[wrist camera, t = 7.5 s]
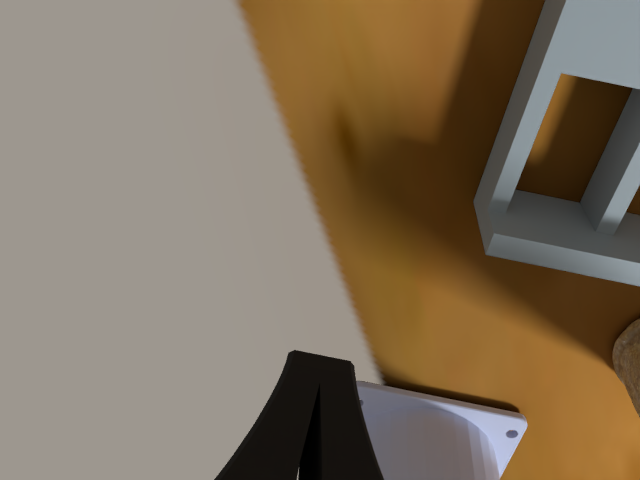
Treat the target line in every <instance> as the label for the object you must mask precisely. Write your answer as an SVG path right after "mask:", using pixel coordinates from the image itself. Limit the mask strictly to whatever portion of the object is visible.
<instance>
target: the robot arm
mask: <svg viewBox="0 0 640 480" xmlns="http://www.w3.org/2000/svg"><path fill="white" fill-rule="evenodd" d="M354 371H355V370H354V365H353V364H352V363H351V361H347V360H342V359H337V358H332V357H327V356H322V355H317V354H312V353H306V352H302V351H296V350H294V351H292V352H290V353H289V354H288V356H287V360H286V364H285V366H284V369H283V371H282V374H281V376H280V378H279V381H278V383H277V385H276V387H275V389H274V390H273V393H272V395H271V396H270V398H269V400H268V402H267V403H266V405H265V407H264V408H263V410H262V412H261V413H260V415H259V417H258V419H257V420H256V422H255V424H254V425H253V427H252V428H251V430H250V431H249V433H248V434H247V436H246V437H245V439H244V440H243V441H242V443H241V444H240V446H239V447H238V449H237V450H236V452H235V453H234V455H233V456H232V457H231V459H230V460H229V461H228V463H227V464H226V465H225V467H224V468H223V469H222V471H221V472H220V473H219V475H218V476H217V477H216V478H215V479H214V480H297V474H298V469H299V478H298V479H299V480H500V477H501V475H502V473H503V471H504V470H505V468H506V466H507V464H508V462H509V460H510V458H511V457H512V455H513V453H514V451H515V449H516V447H517V445H518V443H519V442H520V440H521V438H522V436H523V434H524V432H525V430H526V428H527V421H526V418H525V416H524V415H523V414H520V413H517V412H512V411H507V410H502V409H497V408H492V407H487V406H482V405H477V404H472V403H467V402H462V401H458V400H453V399H448V398H443V397H438V396H433V395H428V394H423V393H418V392H413V391H408V390H403V389H398V388H394V387H389V386H384V385H379V384H373V383H368V382H364V381H356V378H355V372H354ZM360 399H361V400H360ZM509 430H513V431H509Z"/></svg>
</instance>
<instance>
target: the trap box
mask: <svg viewBox="0 0 640 480" xmlns="http://www.w3.org/2000/svg"><path fill="white" fill-rule="evenodd" d="M561 73H564V74H569V75H573V76H578V77H583V78H588V79H593V80H597V81H602V82H607V83H612V84H617V85H621V86H626V87H631V88H633V90H632V92H631V94H630V96H629V98H628V100H627V102H626V105H625V107H624V109H623V111H622V113H621V115H620V117H619V120H618V122H617V124H616V126H615V128H614V130H613V132H612V135H611V137H610V139H609V141H608V143H607V145H606V147H605V150H604V152H603V154H602V156H601V158H600V160H599V162H598V165H597V167H596V169H595V171H594V173H593V175H592V177H591V180H590V182H589V184H588V186H587V188H586V190H585V192H584V195H583V197H582V199H581V201H580V203H579V202H574V201H569V200H564V199H560V198H555V197H550V196H545V195H540V194H535V193H531V192H526V191H521V190H516V189H515V188H516V186H517V183H518V181H519V178H520V176H521V173H522V171H523V168H524V166H525V163H526V160H527V158H528V155H529V153H530V150H531V148H532V145H533V143H534V140H535V138H536V135H537V133H538V130H539V128H540V125H541V123H542V120H543V117H544V115H545V112H546V110H547V107H548V105H549V102H550V100H551V97H552V95H553V92H554V90H555V87H556V85H557V82H558V80H559V77H560V75H561ZM639 185H640V0H545V3H544V5H543V8H542V11H541V14H540V17H539V19H538V22H537V25H536V28H535V31H534V33H533V36H532V39H531V42H530V45H529V47H528V50H527V53H526V56H525V58H524V61H523V64H522V67H521V70H520V72H519V75H518V78H517V81H516V84H515V86H514V89H513V92H512V95H511V98H510V100H509V103H508V106H507V109H506V112H505V114H504V117H503V120H502V123H501V125H500V128H499V131H498V134H497V137H496V139H495V142H494V145H493V148H492V151H491V153H490V156H489V159H488V162H487V165H486V167H485V170H484V173H483V176H482V179H481V181H480V184H479V187H478V190H477V193H476V195H475V198H474V201H473V203H474V207H475V211H476V216H477V220H478V224H479V228H480V233H481V237H482V241H483V246H484V250H485V254H486V255H489V256H494V257H499V258H504V259H509V260H514V261H519V262H524V263H528V264H533V265H538V266H543V267H548V268H553V269H558V270H562V271H567V272H572V273H577V274H582V275H587V276H592V277H597V278H601V279H606V280H611V281H616V282H621V283H626V284H631V285H636V286H640V215H637V214H632V213H627V212H626V210H627V208H628V206H629V205H630V203H631V201H632V199H633V197H634V195H635V193H636V191H637V189H638V187H639Z"/></svg>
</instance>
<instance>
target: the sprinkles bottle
mask: <svg viewBox="0 0 640 480" xmlns="http://www.w3.org/2000/svg"><path fill="white" fill-rule="evenodd" d="M612 359H613V363H614V369H615V372H616V374H617V376H618V378H619V379H620V380H621V381H622V383H623V384H624V385H625V387H626V389H627V391H628V394H629V396H630V398H631V400H632V403H633V405H634V407H635V409H636V411H637V413H638V415H639V417H640V318H639V319H638V320H636V321H635V322H633V323H632V324H631V325H629V326H628V328H627V329H626V330H625V331H624V332H623V333H622V334H621V335H620V336H619V338H618V339H617V340H616V342H615V345H614V349H613V356H612Z"/></svg>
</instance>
